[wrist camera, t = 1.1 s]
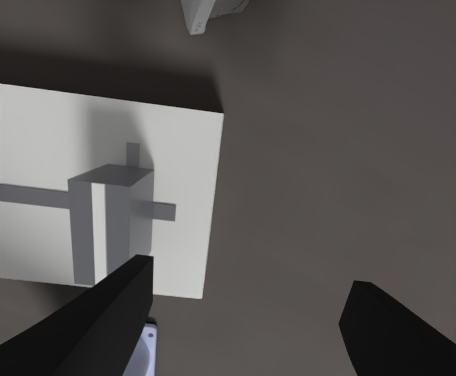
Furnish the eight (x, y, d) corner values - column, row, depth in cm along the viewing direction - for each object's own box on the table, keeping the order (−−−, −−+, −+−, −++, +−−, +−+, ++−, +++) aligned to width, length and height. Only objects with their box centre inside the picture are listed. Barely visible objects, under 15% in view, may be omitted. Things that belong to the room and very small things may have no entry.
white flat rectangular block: (205, 274, 22) (201, 299, 19) (-82, 243, 21) (-134, 264, 18) (224, 114, 18) (223, 113, 15) (-131, 66, 17) (-209, 55, 14)
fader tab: (151, 250, 17) (128, 290, 13) (109, 246, 17) (73, 284, 13) (154, 169, 15) (129, 187, 11) (107, 163, 15) (65, 179, 11)
